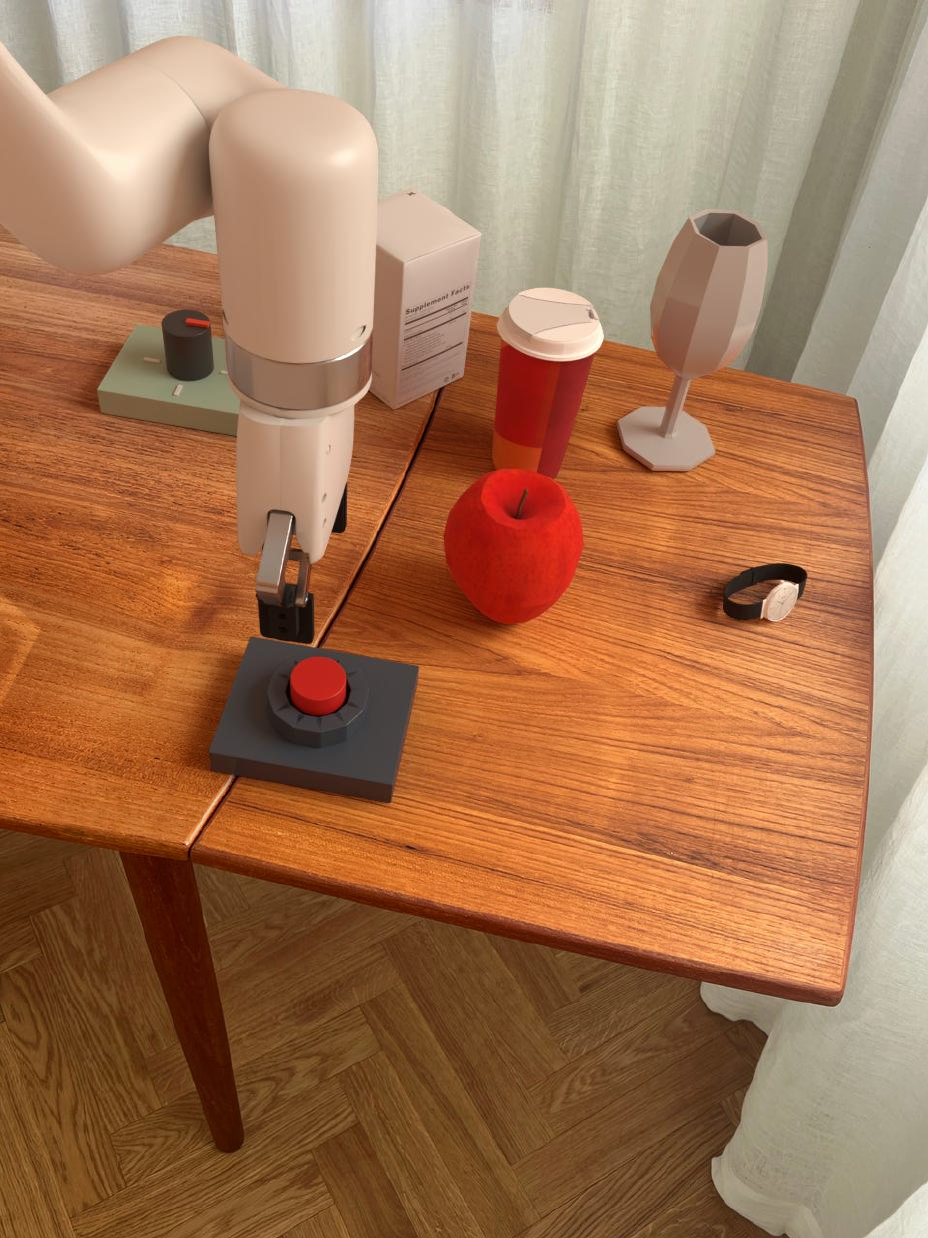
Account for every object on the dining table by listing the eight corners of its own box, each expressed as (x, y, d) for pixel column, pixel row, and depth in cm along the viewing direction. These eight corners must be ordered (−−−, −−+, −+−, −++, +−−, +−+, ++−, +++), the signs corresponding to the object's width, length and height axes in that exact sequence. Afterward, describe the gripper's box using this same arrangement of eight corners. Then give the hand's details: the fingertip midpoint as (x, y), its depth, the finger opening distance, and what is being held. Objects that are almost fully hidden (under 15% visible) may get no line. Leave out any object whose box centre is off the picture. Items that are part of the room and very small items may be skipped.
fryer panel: (100, 413, 95) (96, 387, 93) (140, 346, 102) (136, 321, 100) (249, 438, 95) (248, 413, 93) (279, 370, 101) (278, 345, 99)
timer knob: (160, 377, 95) (154, 329, 91) (174, 350, 98) (169, 302, 94) (206, 384, 95) (202, 336, 91) (219, 357, 98) (215, 310, 94)
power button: (284, 710, 72) (284, 694, 71) (298, 668, 74) (297, 651, 73) (339, 720, 72) (339, 704, 71) (350, 677, 74) (351, 661, 73)
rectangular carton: (330, 362, 103) (331, 211, 92) (403, 330, 107) (413, 183, 96) (392, 413, 99) (402, 262, 88) (467, 378, 103) (484, 230, 92)
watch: (742, 640, 85) (756, 608, 82) (702, 599, 87) (715, 567, 85) (814, 606, 88) (829, 574, 85) (773, 567, 91) (787, 536, 88)
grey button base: (210, 771, 73) (206, 735, 70) (251, 655, 79) (249, 618, 76) (391, 803, 72) (394, 769, 69) (417, 684, 79) (421, 648, 76)
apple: (410, 603, 84) (421, 482, 75) (493, 540, 89) (513, 420, 80) (511, 677, 80) (535, 559, 71) (591, 606, 86) (624, 488, 77)
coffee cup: (561, 430, 100) (592, 282, 88) (583, 493, 94) (619, 344, 83) (469, 433, 98) (489, 283, 87) (486, 497, 93) (510, 346, 82)
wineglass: (646, 484, 96) (710, 266, 80) (598, 422, 101) (650, 206, 85) (730, 463, 99) (807, 249, 83) (679, 404, 104) (743, 192, 88)
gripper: (269, 254, 63) (279, 481, 76) (178, 445, 52) (208, 676, 64) (399, 274, 63) (387, 498, 76) (337, 470, 51) (336, 696, 64)
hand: (305, 579), depth 70 cm, fingers open, 9 cm apart
